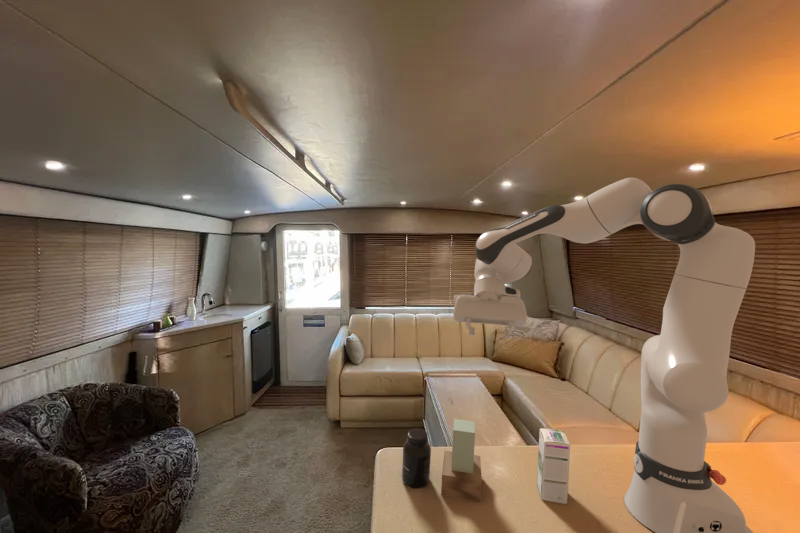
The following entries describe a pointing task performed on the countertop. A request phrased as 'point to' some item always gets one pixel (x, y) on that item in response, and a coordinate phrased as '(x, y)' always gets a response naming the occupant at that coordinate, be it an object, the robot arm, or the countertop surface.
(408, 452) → the supplement bottle
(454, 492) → the block
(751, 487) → the countertop surface
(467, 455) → the sage block
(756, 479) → the countertop surface
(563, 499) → the syrup box
